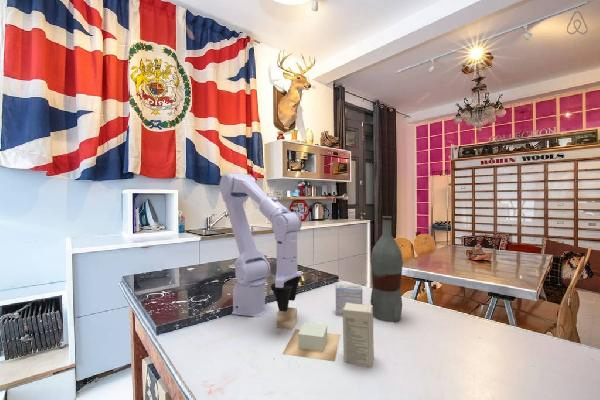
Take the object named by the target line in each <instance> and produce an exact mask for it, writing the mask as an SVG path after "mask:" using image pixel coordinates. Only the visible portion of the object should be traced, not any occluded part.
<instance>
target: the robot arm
mask: <svg viewBox="0 0 600 400" xmlns="http://www.w3.org/2000/svg"><path fill="white" fill-rule="evenodd" d="M256 182H257V181H256V178H255V177H254V176H253V175H251V174H250V173H247V174H241V173H227V172H226V173H223V175H221V178H220V181H219V189H220V195H221V196H222V197H221V198H222V200H223V202H224V203H225V204H224V205H225V208H226V211H227V215H228V218H229V221H230V225H231V228H232V232H233V235H234V239H235V243H236V246H237V250H238V252H239V255H238V257H237V258H236V260H235V261H234V268H235V269H234V270H235V279H236V283H235V284H234V287H233V291H232V312H231V314H232V315H238V316H244V317H245V316H247V317H259V318H260V317H262V316H263V315H264V314H265V312H266V311H267V310H269V308H270V304H268V305H267V304H266V282H267V281H268V278H269V277H270V275H271V266H270V263H269V262H268V260H267V257H266V256H265V253H263V252H261V251H259V250H258V249H257V247H256V244H255V240H254V237H253V234H252V231H251V228H250V223H249V220H248V217H247V215H246V211H245V208H244V203H245V202H247V201H248V199H249V198H251V199H252V200H253V201H254V202H255V203H256V204H257V205H259V207H258V208H259V212H260V213H262V215H263V216H264V217H265V218H266V219H267V220H268V221H269V222H270V223H271V229H272V231H273V234H274V239H275V241H276V271H275V279H274V282H273V283H272V284H271V285H270V289H271V291H272V293H273V294H274V297H275V299H276V304H277V308H278V311H285V312H286V311H287V309H288V307H289V302H290V301H291V302H293V301H295V300H296V296H297V290H298V287H299V283H300V280H301V278H302V272H301V271H299V270H298V232H300V230H301V228H302V219H301V217H300V215H299V213H297V212H296V211H290V210H289V209H288V208H287V207H285V206H284V205H283V204H282V203H281V202H279V198H278V197H276V196H268V195H267V194H266V193H265V192H264V191H263V190H262V189H261V187H260V186H259V185H258V184H257V183H256ZM236 306H238V308H237V307H236Z"/></svg>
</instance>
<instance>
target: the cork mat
mask: <svg viewBox="0 0 600 400" xmlns="http://www.w3.org/2000/svg"><path fill="white" fill-rule="evenodd" d="M300 330H301V329H297V328H296V329H295V330H294V332H293V333H292V335H291V337H290V339H289V341H288V343H287V344H286V347H285V348H284V349H283V350H284V351H283V352H282V355H287V356H294V357H295V356H296V357H300V358H308V359H309V358H310V359H315V360H321V361H327V362H328V361H330V362H335V360H336V356H337V352H338V348H339V343H340V338H341V334H340V333H339V334H338V333H331V332H330V333H329V332H327V341H326V345H325V348H324V351H323V352H320V351H313V350H305V349H298V333H299V332H300Z"/></svg>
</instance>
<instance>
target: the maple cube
mask: <svg viewBox="0 0 600 400" xmlns="http://www.w3.org/2000/svg"><path fill="white" fill-rule="evenodd" d="M297 323H298V308H297V307H289V306H288V309H287V311H286V312H285V311H279V310H278V311H277V312H276V328H277V329H286V330H294V328H295V326H296V325H297Z"/></svg>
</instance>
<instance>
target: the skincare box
mask: <svg viewBox="0 0 600 400" xmlns="http://www.w3.org/2000/svg"><path fill="white" fill-rule="evenodd" d="M342 332H343V333H342V334H343V335H342V339H343V340H342V341H343V342H342V343H343V363H345V364H351V365H355V366H360V367H366V368H373V365H374V360H375V356H374V355H375V354H374V353H375V352H374V349H375V348H374V344H375V343H374V342H375V341H374V316H373V305H371V304H366V303H365V304H364V303H362V304H355V303H346V304H345V306H344V307H343V316H342Z"/></svg>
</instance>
